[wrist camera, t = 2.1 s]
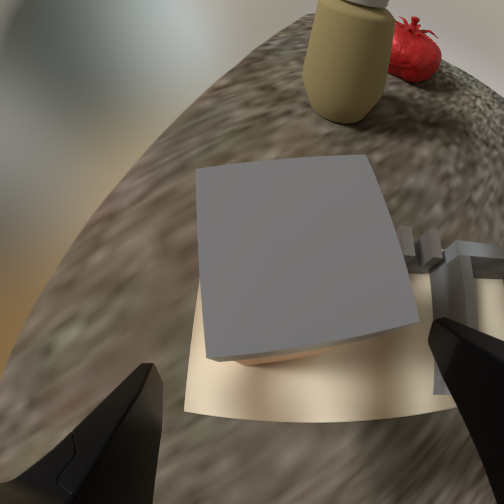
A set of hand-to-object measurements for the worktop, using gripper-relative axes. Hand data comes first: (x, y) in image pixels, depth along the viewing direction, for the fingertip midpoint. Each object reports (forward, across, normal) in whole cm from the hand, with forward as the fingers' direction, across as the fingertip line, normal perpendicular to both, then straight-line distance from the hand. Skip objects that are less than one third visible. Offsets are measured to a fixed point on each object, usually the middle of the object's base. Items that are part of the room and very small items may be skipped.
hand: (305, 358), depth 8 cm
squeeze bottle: (+24, -10, -9) cm, 27 cm away
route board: (+8, -8, +7) cm, 13 cm away
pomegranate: (+31, -23, -16) cm, 42 cm away
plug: (+8, 0, +5) cm, 10 cm away
